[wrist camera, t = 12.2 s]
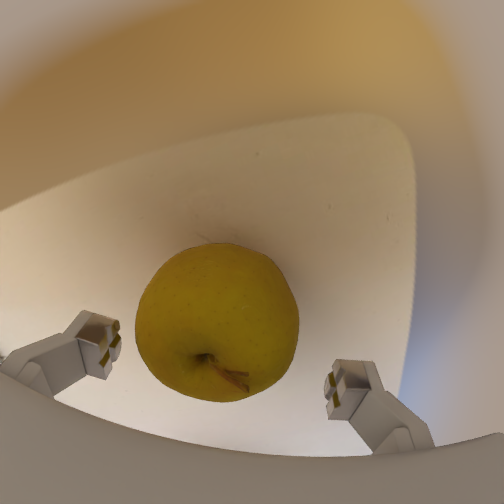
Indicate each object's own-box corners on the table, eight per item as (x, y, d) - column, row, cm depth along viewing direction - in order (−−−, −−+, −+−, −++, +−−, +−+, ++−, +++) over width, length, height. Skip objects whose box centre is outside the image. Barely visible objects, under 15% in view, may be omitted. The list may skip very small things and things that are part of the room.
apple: (317, 270, 16) (351, 391, 8) (236, 340, 18) (222, 458, 10) (222, 187, 14) (175, 265, 7) (148, 274, 16) (82, 381, 9)
